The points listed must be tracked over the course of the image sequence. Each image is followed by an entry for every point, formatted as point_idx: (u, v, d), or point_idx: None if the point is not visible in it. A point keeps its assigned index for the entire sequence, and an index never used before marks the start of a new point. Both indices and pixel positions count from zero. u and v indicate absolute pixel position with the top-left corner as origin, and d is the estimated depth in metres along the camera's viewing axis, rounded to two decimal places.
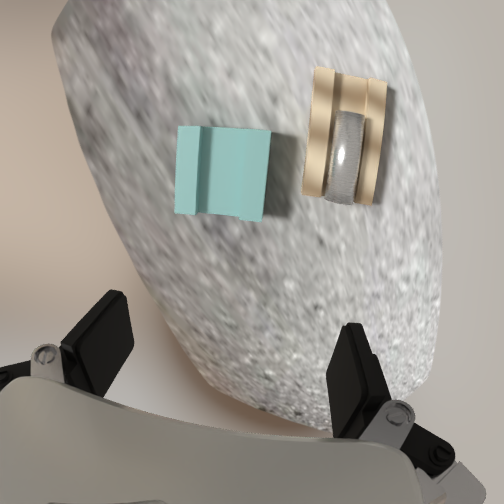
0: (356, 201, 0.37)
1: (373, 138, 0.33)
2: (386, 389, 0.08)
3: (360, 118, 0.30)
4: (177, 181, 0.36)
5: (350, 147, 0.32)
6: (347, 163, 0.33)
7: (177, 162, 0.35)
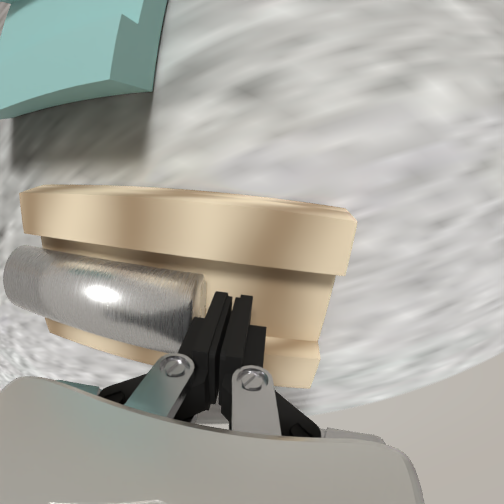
0: None
1: (161, 352, 0.15)
2: (261, 358, 0.09)
3: None
4: None
5: (94, 326, 0.11)
6: (62, 314, 0.11)
7: None
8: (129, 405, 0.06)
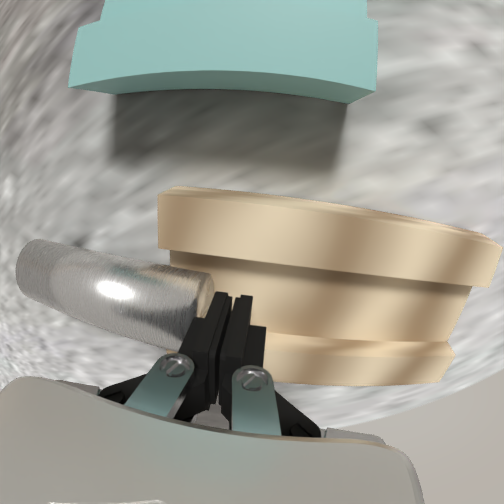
0: None
1: (329, 370, 0.15)
2: (261, 358, 0.09)
3: None
4: None
5: (100, 320, 0.12)
6: (70, 308, 0.12)
7: None
8: (129, 405, 0.06)
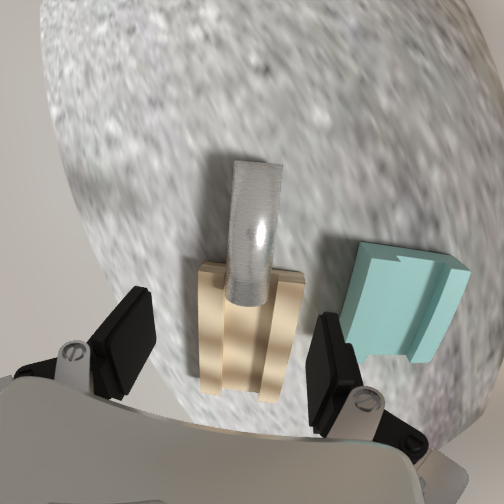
0: (222, 276, 0.26)
1: (210, 347, 0.30)
2: (359, 377, 0.09)
3: (230, 296, 0.24)
4: (454, 309, 0.23)
5: (244, 255, 0.23)
6: (247, 229, 0.22)
7: (446, 328, 0.24)
8: None
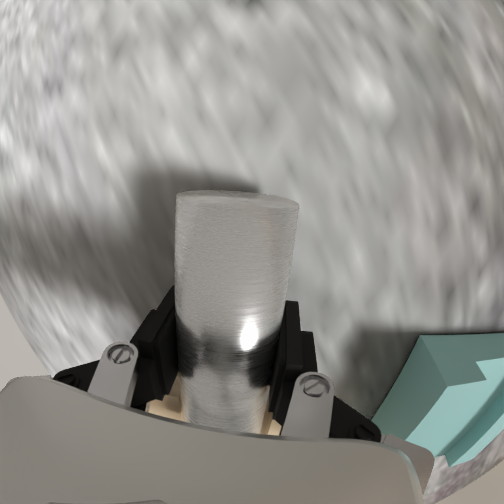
0: (175, 399, 0.13)
1: None
2: (314, 364, 0.09)
3: None
4: None
5: (213, 404, 0.10)
6: (217, 366, 0.09)
7: (503, 427, 0.11)
8: None
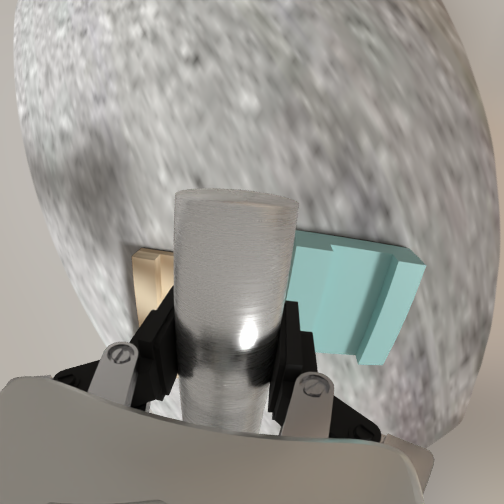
0: (153, 262, 0.26)
1: None
2: (314, 364, 0.09)
3: None
4: (407, 307, 0.23)
5: (212, 404, 0.10)
6: (216, 366, 0.09)
7: (399, 329, 0.24)
8: None
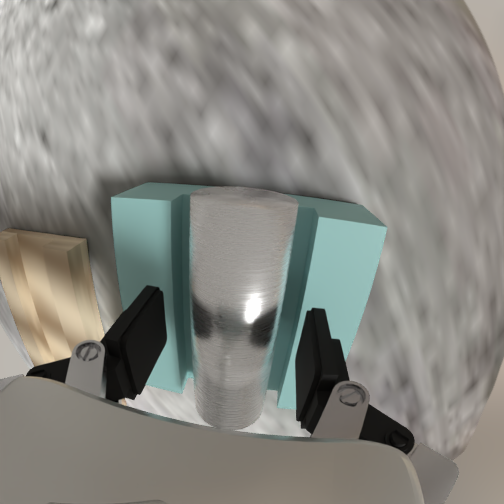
0: (4, 242, 0.15)
1: (25, 333, 0.19)
2: (345, 372, 0.09)
3: (206, 417, 0.13)
4: (356, 316, 0.12)
5: (226, 378, 0.11)
6: (230, 343, 0.11)
7: (345, 355, 0.13)
8: None
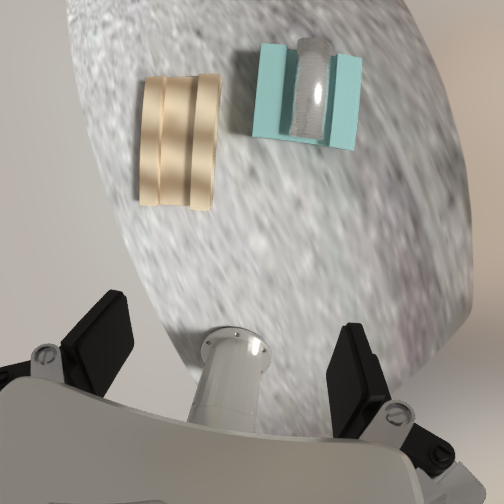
0: (161, 77, 0.30)
1: (148, 143, 0.34)
2: (386, 389, 0.08)
3: (299, 131, 0.28)
4: (357, 90, 0.27)
5: (312, 97, 0.26)
6: (314, 79, 0.25)
7: (357, 110, 0.28)
8: None
